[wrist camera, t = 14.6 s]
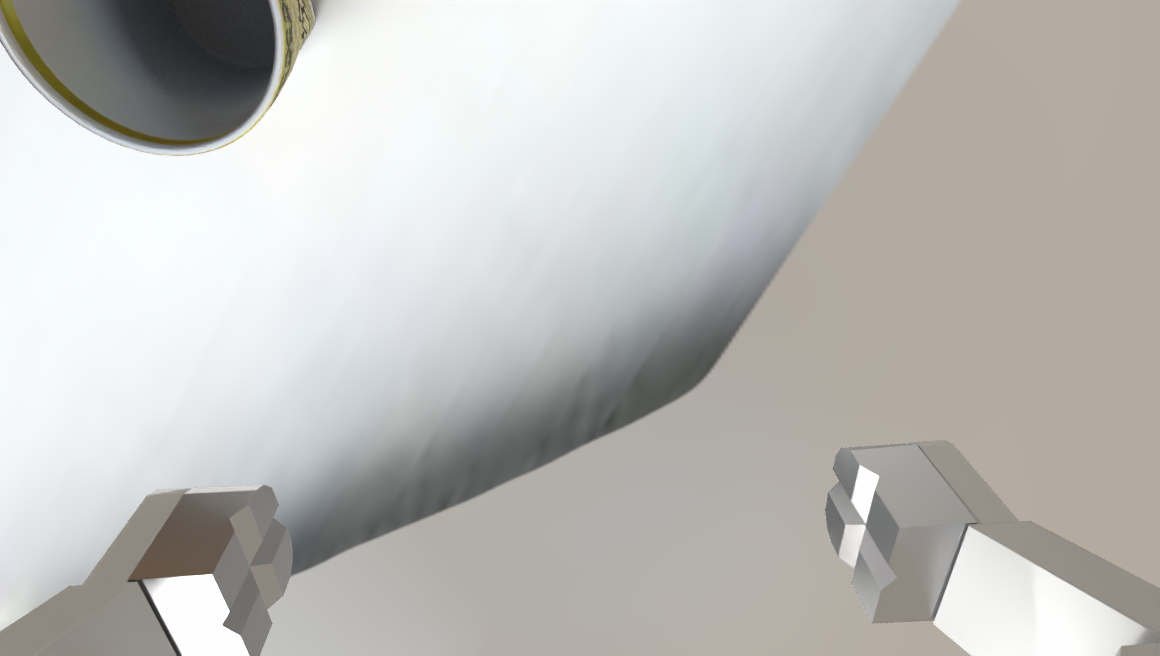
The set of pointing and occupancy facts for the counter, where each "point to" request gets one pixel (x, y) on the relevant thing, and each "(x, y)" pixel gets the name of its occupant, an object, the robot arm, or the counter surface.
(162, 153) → the ceramic cup
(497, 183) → the counter surface
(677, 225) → the counter surface
